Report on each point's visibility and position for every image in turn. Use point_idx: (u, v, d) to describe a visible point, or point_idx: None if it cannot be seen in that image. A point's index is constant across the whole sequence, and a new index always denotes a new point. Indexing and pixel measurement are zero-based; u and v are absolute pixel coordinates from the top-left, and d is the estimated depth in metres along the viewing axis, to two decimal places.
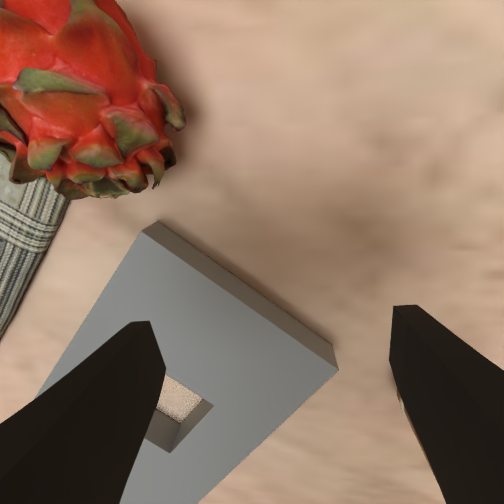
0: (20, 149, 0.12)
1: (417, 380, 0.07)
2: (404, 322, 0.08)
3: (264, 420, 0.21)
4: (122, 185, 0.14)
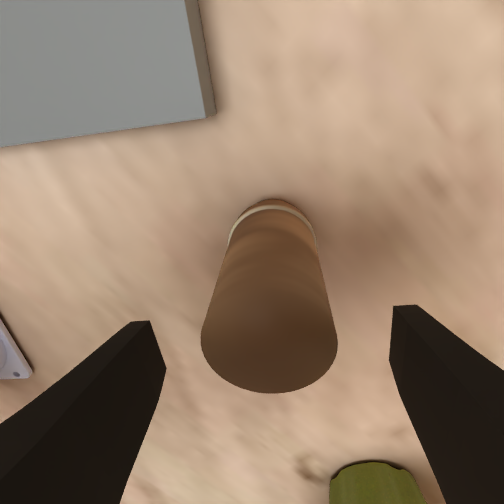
0: None
1: (417, 380, 0.07)
2: (404, 322, 0.08)
3: (57, 111, 0.13)
4: None
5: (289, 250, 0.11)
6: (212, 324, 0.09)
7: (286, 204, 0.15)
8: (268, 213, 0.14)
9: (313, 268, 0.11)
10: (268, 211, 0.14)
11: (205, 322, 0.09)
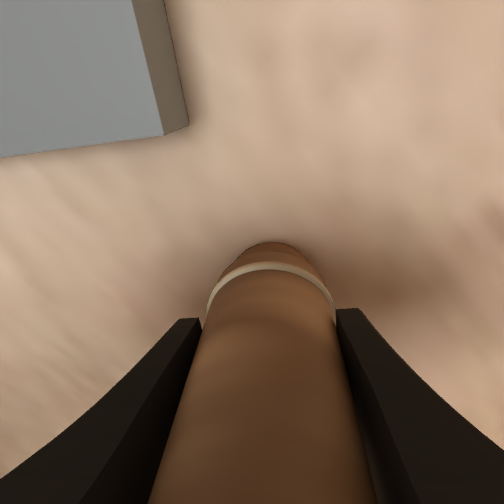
0: None
1: (350, 382, 0.08)
2: (340, 325, 0.08)
3: None
4: None
5: (300, 378, 0.06)
6: None
7: (291, 257, 0.10)
8: (264, 280, 0.09)
9: (343, 413, 0.06)
10: (263, 274, 0.09)
11: None
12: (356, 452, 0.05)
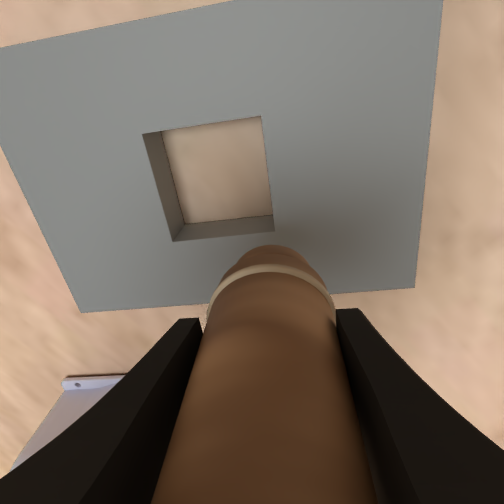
0: None
1: (350, 382, 0.08)
2: (340, 326, 0.08)
3: None
4: None
5: (295, 379, 0.06)
6: None
7: (288, 259, 0.10)
8: (261, 283, 0.09)
9: (340, 412, 0.06)
10: (260, 277, 0.09)
11: None
12: (353, 452, 0.05)
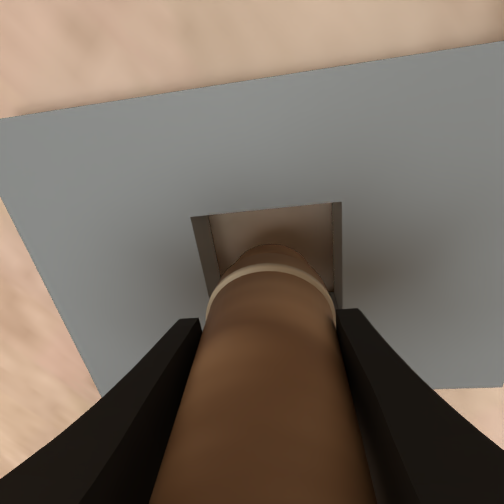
0: None
1: (350, 382, 0.08)
2: (340, 325, 0.08)
3: None
4: None
5: (294, 378, 0.06)
6: None
7: (287, 258, 0.10)
8: (260, 282, 0.09)
9: (338, 411, 0.06)
10: (260, 276, 0.09)
11: None
12: (352, 450, 0.05)
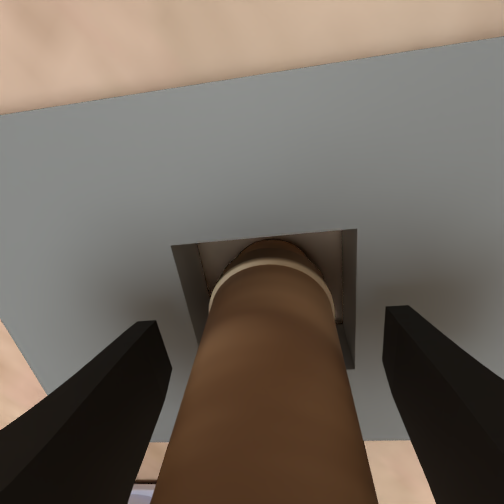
0: None
1: (408, 380, 0.07)
2: (395, 323, 0.08)
3: (384, 425, 0.13)
4: None
5: (293, 362, 0.06)
6: None
7: (288, 252, 0.11)
8: (261, 274, 0.09)
9: (336, 393, 0.06)
10: (261, 269, 0.09)
11: None
12: (348, 428, 0.06)
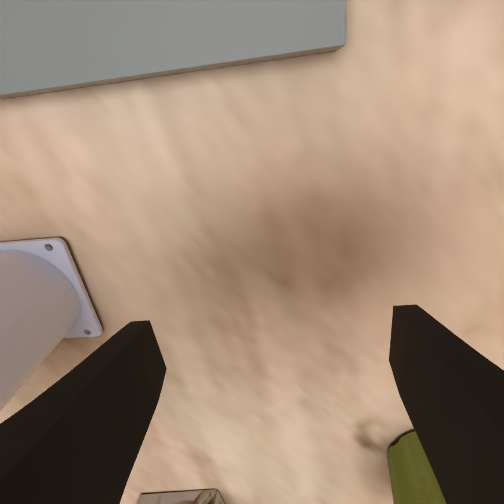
0: None
1: (417, 380, 0.07)
2: (404, 322, 0.08)
3: (193, 37, 0.13)
4: None
5: None
6: None
7: None
8: None
9: None
10: None
11: None
12: None
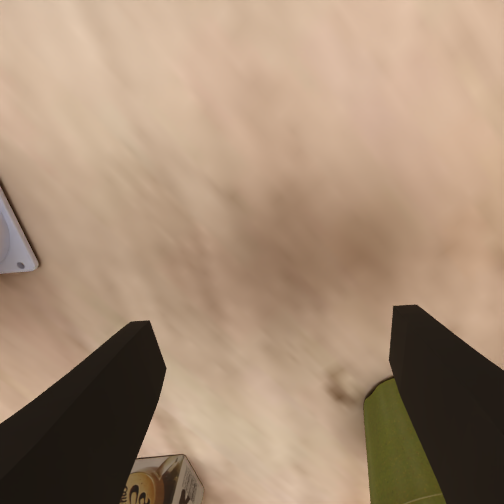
0: None
1: (417, 380, 0.07)
2: (404, 322, 0.08)
3: None
4: None
5: None
6: None
7: None
8: None
9: None
10: None
11: None
12: None
